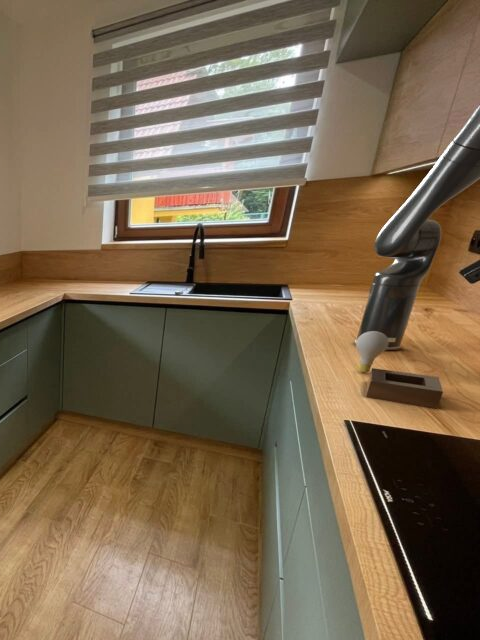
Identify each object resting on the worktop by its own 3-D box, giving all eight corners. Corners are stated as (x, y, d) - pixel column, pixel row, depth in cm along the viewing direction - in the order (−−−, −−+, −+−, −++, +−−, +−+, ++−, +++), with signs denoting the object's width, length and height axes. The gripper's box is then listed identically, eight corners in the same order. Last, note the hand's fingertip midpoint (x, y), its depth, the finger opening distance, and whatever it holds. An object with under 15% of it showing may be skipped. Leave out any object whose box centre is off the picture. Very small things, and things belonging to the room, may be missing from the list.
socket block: (367, 382, 95) (371, 367, 94) (432, 392, 88) (438, 376, 87) (365, 396, 88) (370, 380, 87) (436, 408, 82) (443, 391, 80)
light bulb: (371, 369, 103) (384, 329, 99) (383, 377, 98) (397, 334, 94) (343, 368, 104) (355, 328, 101) (354, 375, 99) (366, 333, 96)
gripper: (555, 199, 81) (446, 261, 92) (578, 198, 71) (453, 267, 82) (589, 228, 79) (474, 287, 90) (617, 231, 69) (484, 296, 81)
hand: (464, 277), depth 86 cm, fingers open, 8 cm apart
